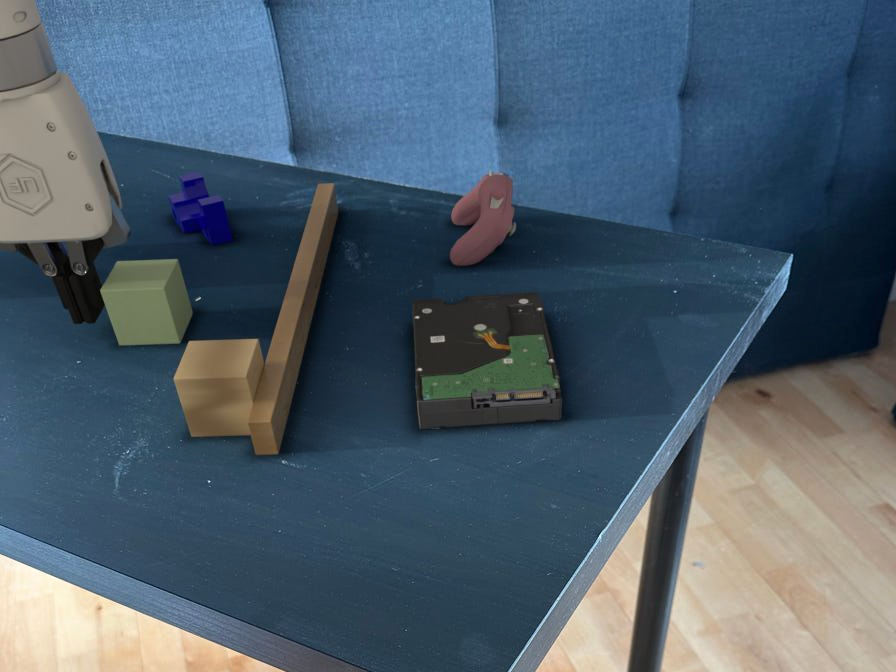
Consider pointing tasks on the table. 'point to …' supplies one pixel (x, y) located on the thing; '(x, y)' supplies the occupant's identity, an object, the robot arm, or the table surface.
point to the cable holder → (200, 210)
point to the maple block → (219, 385)
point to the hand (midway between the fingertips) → (89, 315)
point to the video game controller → (483, 219)
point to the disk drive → (484, 362)
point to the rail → (293, 326)
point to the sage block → (147, 302)
